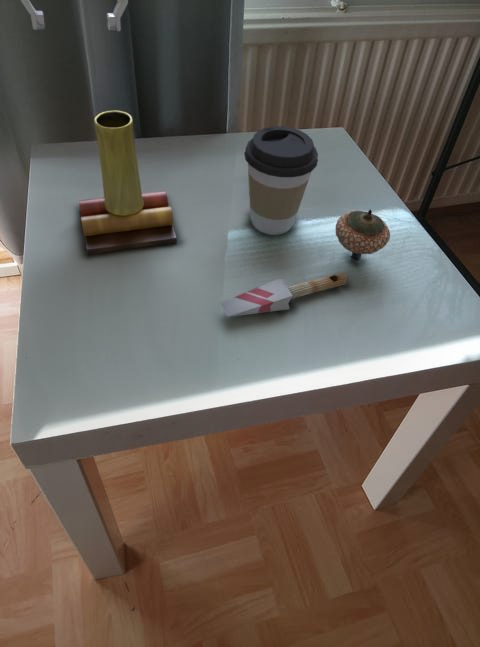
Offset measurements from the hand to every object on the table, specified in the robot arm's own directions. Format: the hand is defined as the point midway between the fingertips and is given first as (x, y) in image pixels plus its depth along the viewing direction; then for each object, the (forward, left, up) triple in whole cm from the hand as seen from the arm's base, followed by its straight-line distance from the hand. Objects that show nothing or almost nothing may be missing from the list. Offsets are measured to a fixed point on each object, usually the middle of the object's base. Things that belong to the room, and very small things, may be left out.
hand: (77, 29), depth 66 cm
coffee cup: (+27, -10, -28) cm, 40 cm away
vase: (+3, -6, -24) cm, 25 cm away
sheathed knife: (+23, -28, -28) cm, 46 cm away
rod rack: (+3, -6, -28) cm, 28 cm away
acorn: (+37, -22, -28) cm, 51 cm away
